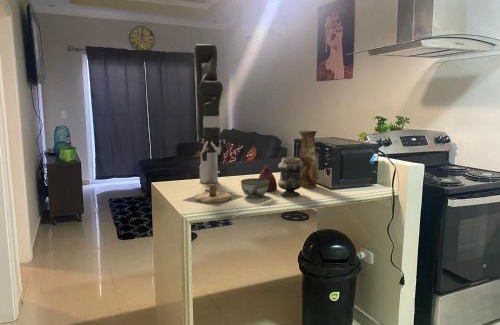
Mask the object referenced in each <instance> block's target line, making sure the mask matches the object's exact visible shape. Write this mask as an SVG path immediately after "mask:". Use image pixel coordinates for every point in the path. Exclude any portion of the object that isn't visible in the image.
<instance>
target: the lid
mask: <svg viewBox="0 0 500 325" xmlns="http://www.w3.org/2000/svg"><path fill="white" fill-rule="evenodd" d="M208 188H209V189H208V191H209V192H208V191H204V192H200V193H197V194H195V195H194V199H195V200H196V201H198V202H203V203H219V202H225V201H228V200H230V199H231V195H232V194H231V193H229V192H226V191H218V190H217V185H216V183H210V184H209V185H208Z"/></svg>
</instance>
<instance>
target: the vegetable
mask: <svg viewBox="0 0 500 325" xmlns="http://www.w3.org/2000/svg"><path fill="white" fill-rule="evenodd" d="M258 178H259V179H266V180H268V181H270V182H269V186H268V190H267V192H266V193H272V192H275V191H277V190H278V182H277V179H276V178H275V175H274V174H273V173H272V169H270V166H269V165H268V164H265V166H264V168H263V170H262V171H261V172H260V173H259V176H258Z"/></svg>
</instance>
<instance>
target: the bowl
mask: <svg viewBox="0 0 500 325" xmlns="http://www.w3.org/2000/svg"><path fill="white" fill-rule="evenodd" d="M269 182H270V181H268V180H266V179H259V177H257V178H256V177H255V178H254V177H253V178H245V179H241V180H240V183H241V184H240V185H241V190H242V192H243V194H244V195H246V196H248V198H251V199H259V198H262V197H263V196H264V195H266V194H267V193H268V192H267V190H268V186H269Z"/></svg>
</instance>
